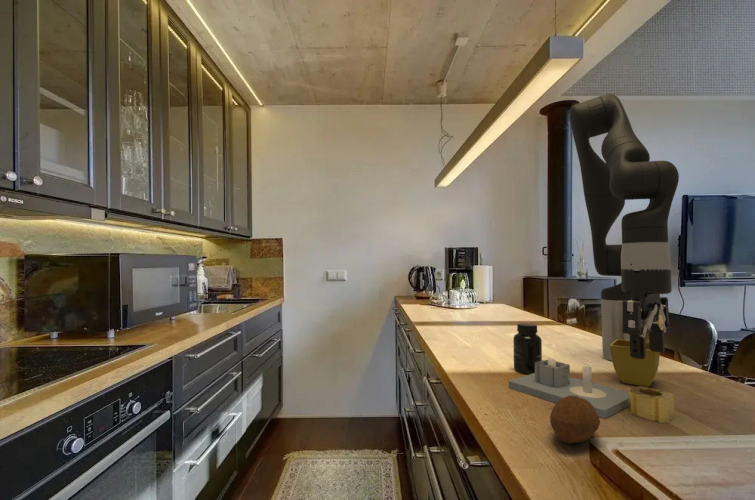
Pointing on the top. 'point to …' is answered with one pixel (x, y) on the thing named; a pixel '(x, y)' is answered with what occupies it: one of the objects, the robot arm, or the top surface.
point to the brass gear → (651, 404)
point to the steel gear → (552, 374)
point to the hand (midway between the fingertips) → (647, 354)
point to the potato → (574, 419)
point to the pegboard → (576, 391)
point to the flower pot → (634, 364)
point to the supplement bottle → (527, 348)
